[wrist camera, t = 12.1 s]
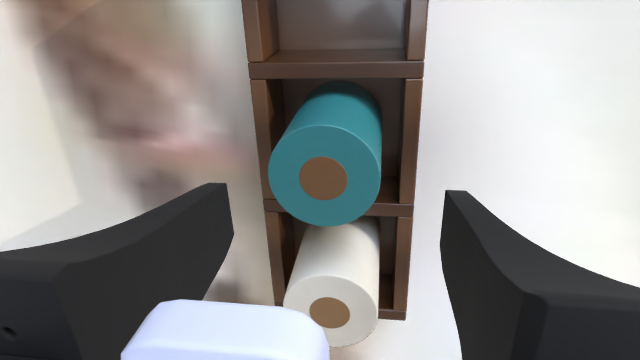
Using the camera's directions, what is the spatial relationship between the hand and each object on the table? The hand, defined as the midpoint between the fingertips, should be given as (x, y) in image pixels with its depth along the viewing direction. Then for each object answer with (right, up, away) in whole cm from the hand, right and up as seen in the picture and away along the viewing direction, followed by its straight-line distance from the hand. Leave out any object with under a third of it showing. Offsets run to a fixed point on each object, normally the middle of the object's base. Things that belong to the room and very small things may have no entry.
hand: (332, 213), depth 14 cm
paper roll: (+1, +4, +7) cm, 9 cm away
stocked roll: (+1, -2, +10) cm, 11 cm away
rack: (+1, +4, +8) cm, 9 cm away
